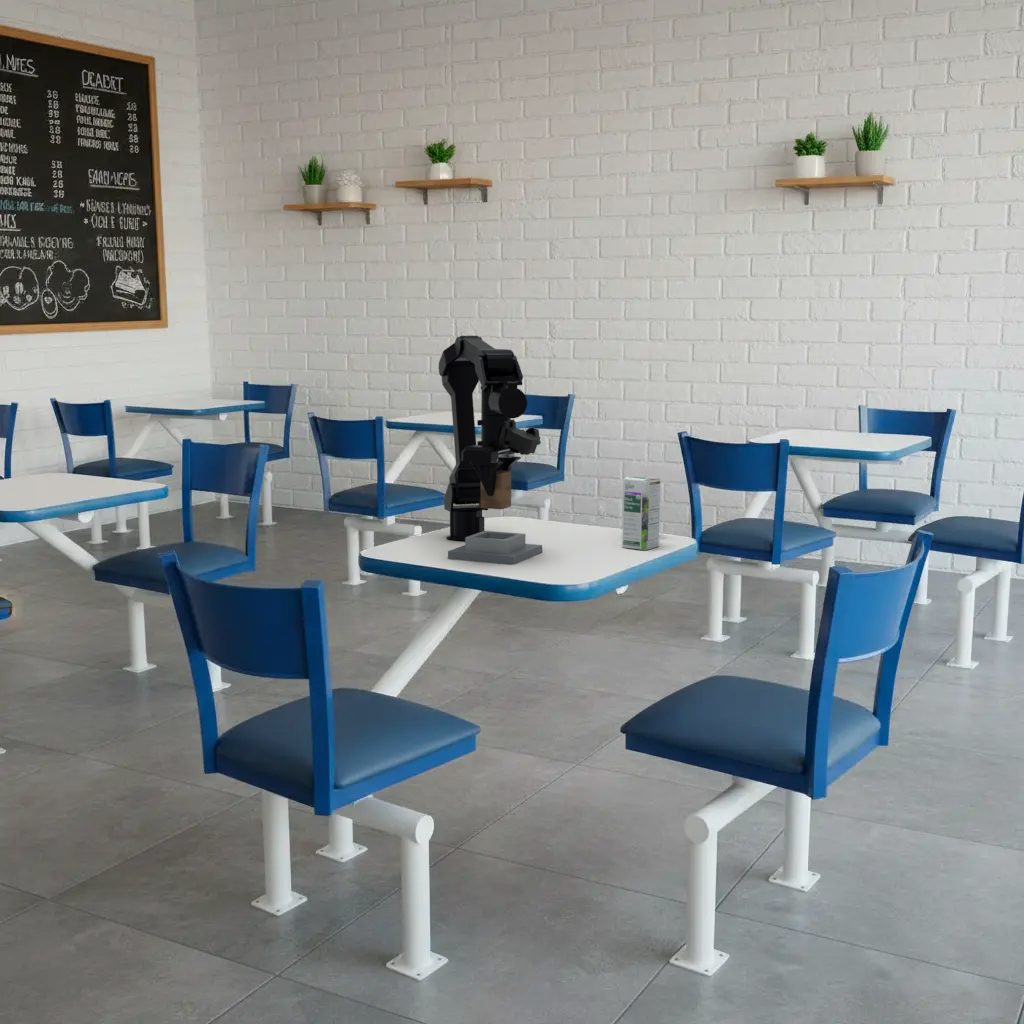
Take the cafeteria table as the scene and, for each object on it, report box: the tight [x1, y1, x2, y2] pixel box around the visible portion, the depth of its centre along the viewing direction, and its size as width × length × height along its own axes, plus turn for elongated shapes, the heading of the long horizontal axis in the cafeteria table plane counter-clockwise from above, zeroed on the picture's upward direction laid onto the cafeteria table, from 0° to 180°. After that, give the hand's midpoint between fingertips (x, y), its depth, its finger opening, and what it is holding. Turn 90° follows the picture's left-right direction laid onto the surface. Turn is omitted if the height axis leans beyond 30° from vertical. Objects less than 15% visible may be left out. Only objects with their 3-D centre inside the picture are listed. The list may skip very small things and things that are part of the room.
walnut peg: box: [481, 470, 512, 510], centre depth 239 cm, size 4×4×7 cm
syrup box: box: [621, 475, 661, 551], centre depth 249 cm, size 6×6×14 cm
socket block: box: [447, 530, 543, 565], centre depth 240 cm, size 14×14×4 cm
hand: (495, 494), depth 239 cm, fingers closed on walnut peg, 4 cm apart
